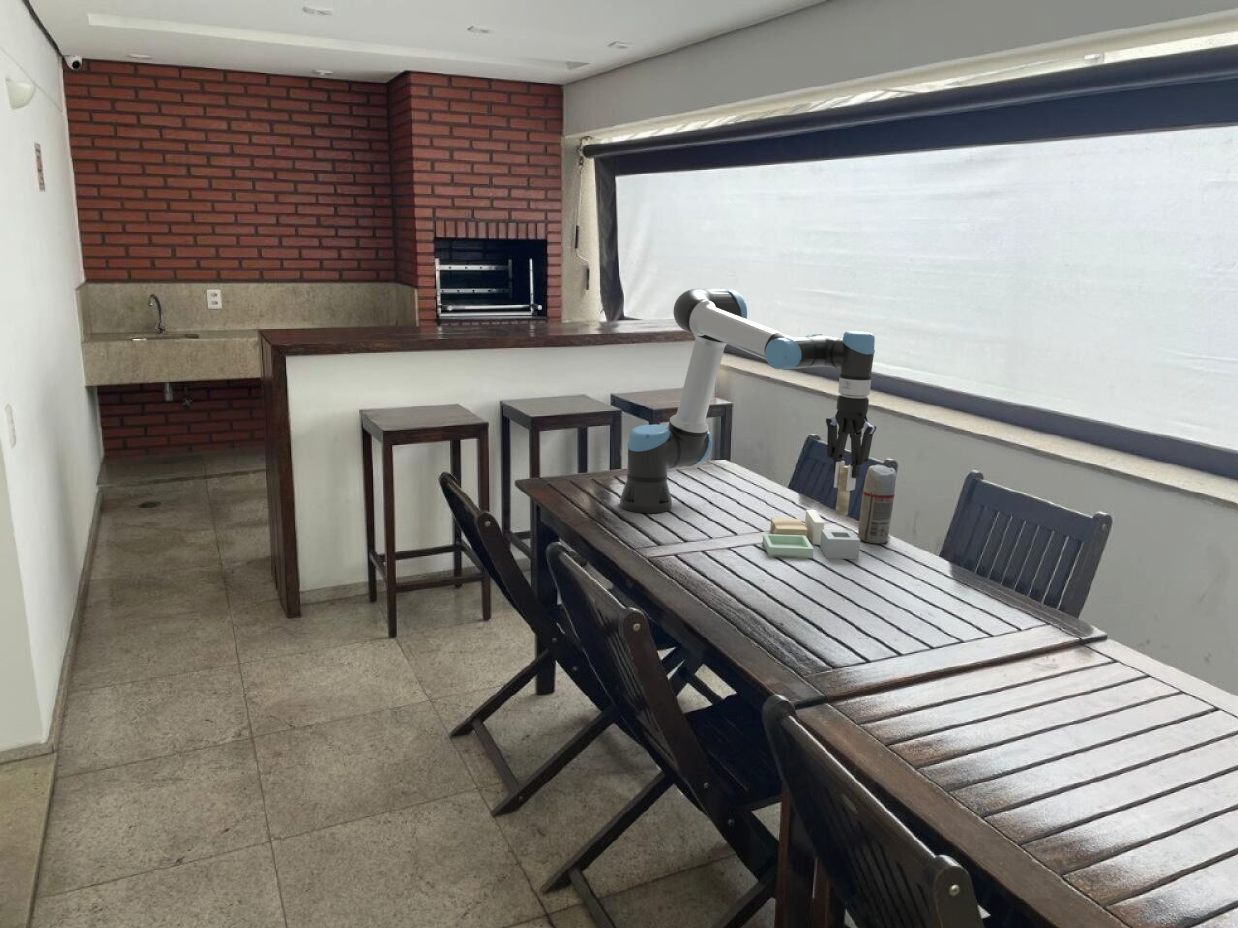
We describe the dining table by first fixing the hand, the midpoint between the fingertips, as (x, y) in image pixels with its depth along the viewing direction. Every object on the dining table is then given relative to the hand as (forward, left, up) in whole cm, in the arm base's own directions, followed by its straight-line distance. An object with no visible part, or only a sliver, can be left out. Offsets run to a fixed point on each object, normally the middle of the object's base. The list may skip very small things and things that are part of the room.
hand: (844, 488), depth 241 cm
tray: (-1, -13, -17) cm, 21 cm away
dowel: (0, 0, -7) cm, 7 cm away
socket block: (0, 0, -17) cm, 17 cm away
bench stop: (-13, -4, -17) cm, 22 cm away
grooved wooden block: (-13, -11, -17) cm, 24 cm away
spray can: (-13, +12, -17) cm, 25 cm away
